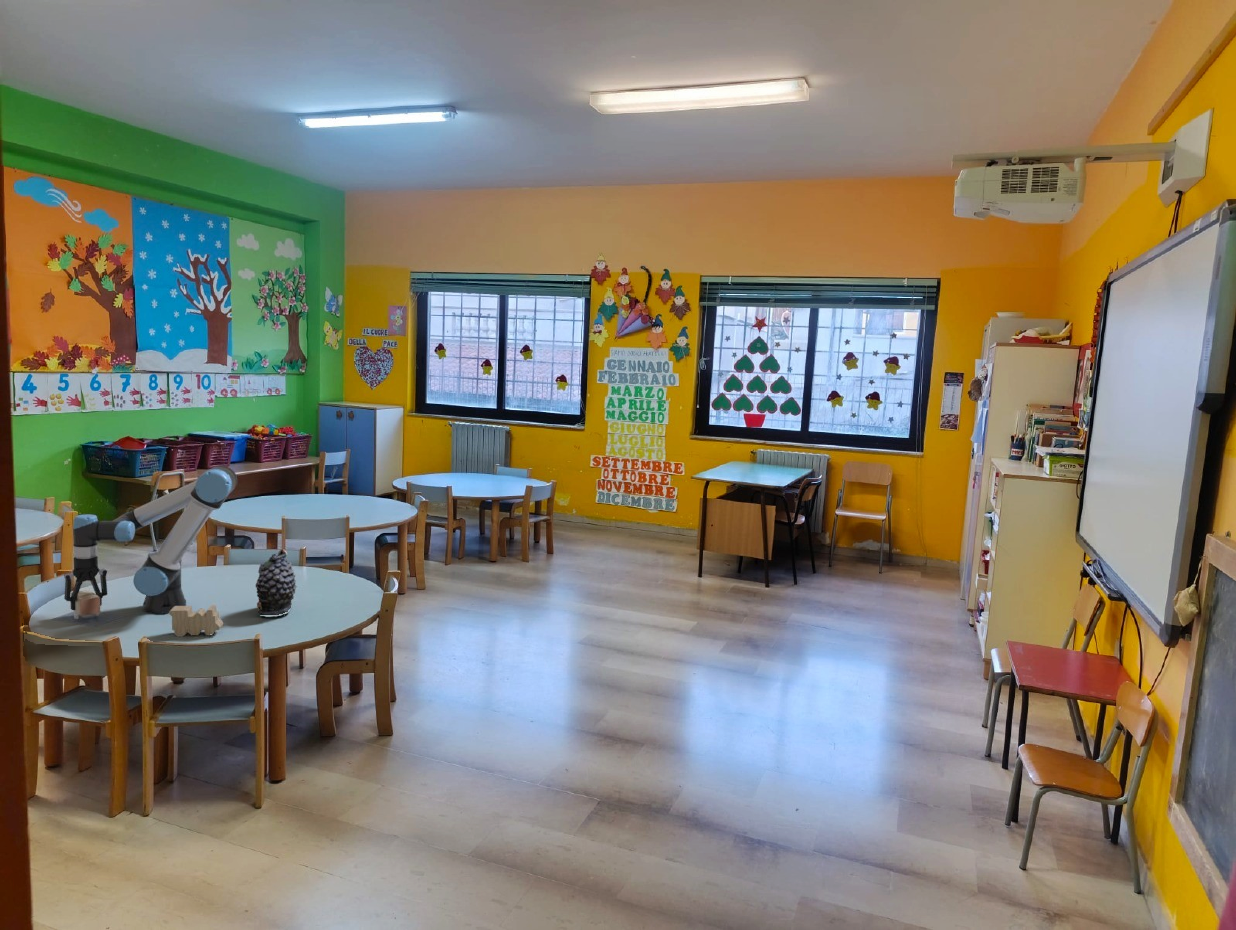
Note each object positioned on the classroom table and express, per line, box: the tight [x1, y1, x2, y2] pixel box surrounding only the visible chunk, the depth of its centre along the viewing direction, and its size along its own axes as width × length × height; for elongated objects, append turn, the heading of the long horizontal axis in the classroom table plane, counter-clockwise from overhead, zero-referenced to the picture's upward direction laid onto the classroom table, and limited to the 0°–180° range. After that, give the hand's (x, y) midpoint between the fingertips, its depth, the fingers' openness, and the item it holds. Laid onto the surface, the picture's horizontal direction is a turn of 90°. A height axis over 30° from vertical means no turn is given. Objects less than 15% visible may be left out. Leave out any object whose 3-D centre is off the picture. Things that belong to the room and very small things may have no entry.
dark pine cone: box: [255, 548, 297, 615], centre depth 325 cm, size 21×15×25 cm
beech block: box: [70, 589, 101, 616], centre depth 303 cm, size 6×6×12 cm
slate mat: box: [50, 610, 127, 627], centre depth 306 cm, size 20×14×1 cm
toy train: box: [168, 604, 224, 637], centre depth 297 cm, size 6×17×10 cm, turn 103°
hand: (86, 616), depth 303 cm, fingers closed on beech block, 6 cm apart
